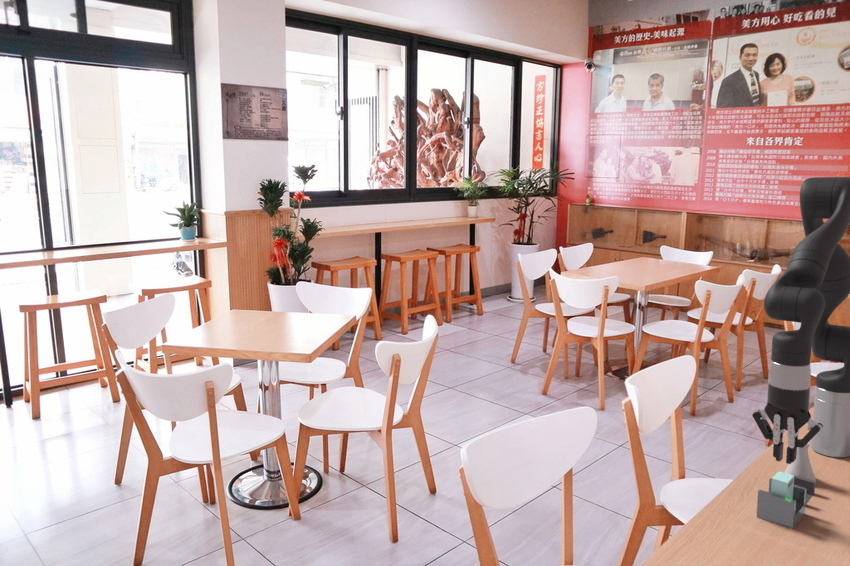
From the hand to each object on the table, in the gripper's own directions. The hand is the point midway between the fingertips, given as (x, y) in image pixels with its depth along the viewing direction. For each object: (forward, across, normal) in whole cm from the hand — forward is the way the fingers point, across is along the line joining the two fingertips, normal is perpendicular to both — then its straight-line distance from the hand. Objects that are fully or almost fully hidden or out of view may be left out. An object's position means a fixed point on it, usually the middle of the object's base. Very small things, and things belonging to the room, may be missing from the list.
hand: (784, 461), depth 138 cm
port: (+13, 0, 0) cm, 13 cm away
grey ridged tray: (+13, 0, -11) cm, 17 cm away
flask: (+13, +2, -20) cm, 24 cm away
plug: (+12, 0, 0) cm, 12 cm away
